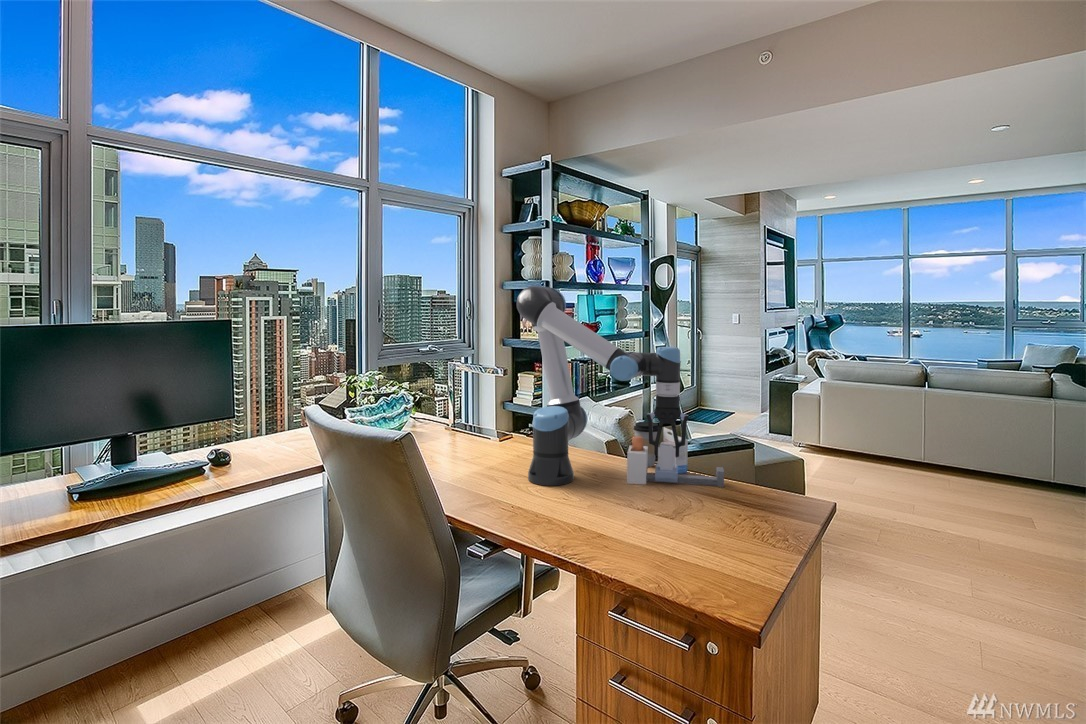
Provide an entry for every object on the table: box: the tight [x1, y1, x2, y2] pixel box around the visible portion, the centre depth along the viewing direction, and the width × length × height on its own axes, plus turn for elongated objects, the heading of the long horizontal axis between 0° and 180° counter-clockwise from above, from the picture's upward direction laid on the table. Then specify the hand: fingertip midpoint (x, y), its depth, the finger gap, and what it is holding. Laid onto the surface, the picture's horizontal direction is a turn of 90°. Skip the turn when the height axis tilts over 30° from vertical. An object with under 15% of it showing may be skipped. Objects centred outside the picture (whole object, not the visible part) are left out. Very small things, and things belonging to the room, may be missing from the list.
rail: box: [646, 466, 725, 488], centre depth 175 cm, size 24×5×5 cm, turn 76°
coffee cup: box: [633, 421, 659, 468], centre depth 195 cm, size 9×9×15 cm
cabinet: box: [626, 444, 649, 485], centre depth 178 cm, size 6×10×10 cm, turn 166°
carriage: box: [654, 441, 679, 483], centre depth 176 cm, size 7×9×12 cm
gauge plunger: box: [631, 435, 644, 451], centre depth 177 cm, size 4×4×4 cm
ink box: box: [662, 426, 689, 475], centre depth 188 cm, size 8×5×15 cm, turn 20°
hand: (666, 465), depth 176 cm, fingers closed on carriage, 4 cm apart
